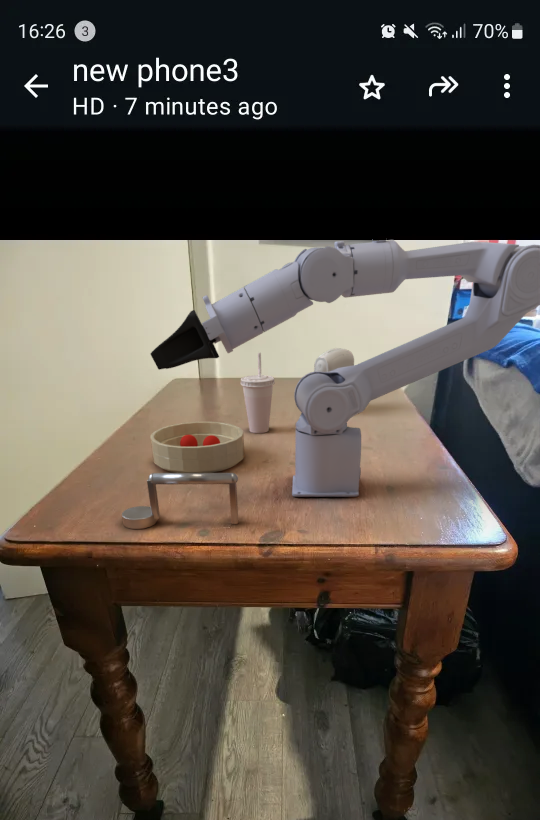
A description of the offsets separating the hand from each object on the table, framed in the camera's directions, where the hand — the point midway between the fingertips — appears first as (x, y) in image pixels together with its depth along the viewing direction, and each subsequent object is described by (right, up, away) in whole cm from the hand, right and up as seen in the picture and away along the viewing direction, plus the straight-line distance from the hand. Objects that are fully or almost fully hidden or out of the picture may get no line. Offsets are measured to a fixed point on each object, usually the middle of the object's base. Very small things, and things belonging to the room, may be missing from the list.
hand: (158, 361), depth 75 cm
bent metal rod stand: (+3, -20, +2) cm, 21 cm away
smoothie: (+12, +2, +39) cm, 41 cm away
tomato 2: (+4, -4, +24) cm, 25 cm away
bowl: (+2, -7, +24) cm, 25 cm away
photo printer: (+28, +10, +51) cm, 59 cm away
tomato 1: (0, -4, +25) cm, 25 cm away
